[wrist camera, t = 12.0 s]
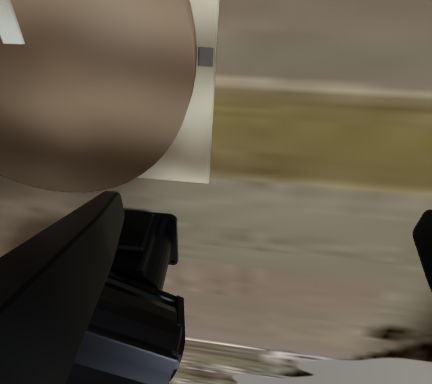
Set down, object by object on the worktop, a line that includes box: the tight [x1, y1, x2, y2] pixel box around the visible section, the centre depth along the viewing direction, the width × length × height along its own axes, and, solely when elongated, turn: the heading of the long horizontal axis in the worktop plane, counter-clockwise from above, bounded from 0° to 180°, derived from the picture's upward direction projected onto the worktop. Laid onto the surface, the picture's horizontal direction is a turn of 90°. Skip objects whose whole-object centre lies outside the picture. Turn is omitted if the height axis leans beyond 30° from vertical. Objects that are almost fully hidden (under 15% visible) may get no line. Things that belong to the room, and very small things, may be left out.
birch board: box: [136, 0, 219, 183], centre depth 17 cm, size 20×21×2 cm
